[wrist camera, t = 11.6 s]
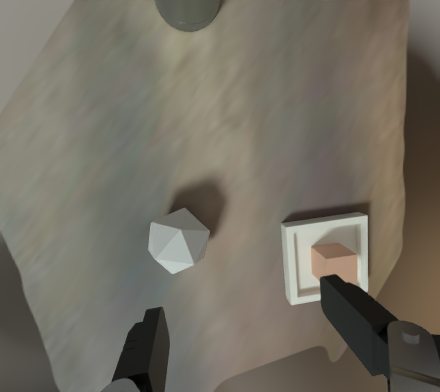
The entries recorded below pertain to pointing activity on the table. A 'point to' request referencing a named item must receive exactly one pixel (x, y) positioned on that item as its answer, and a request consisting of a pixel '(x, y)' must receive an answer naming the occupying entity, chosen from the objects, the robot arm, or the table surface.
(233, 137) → the table surface
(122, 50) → the table surface
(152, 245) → the die
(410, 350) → the robot arm
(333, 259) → the cube
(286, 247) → the tray
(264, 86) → the table surface
